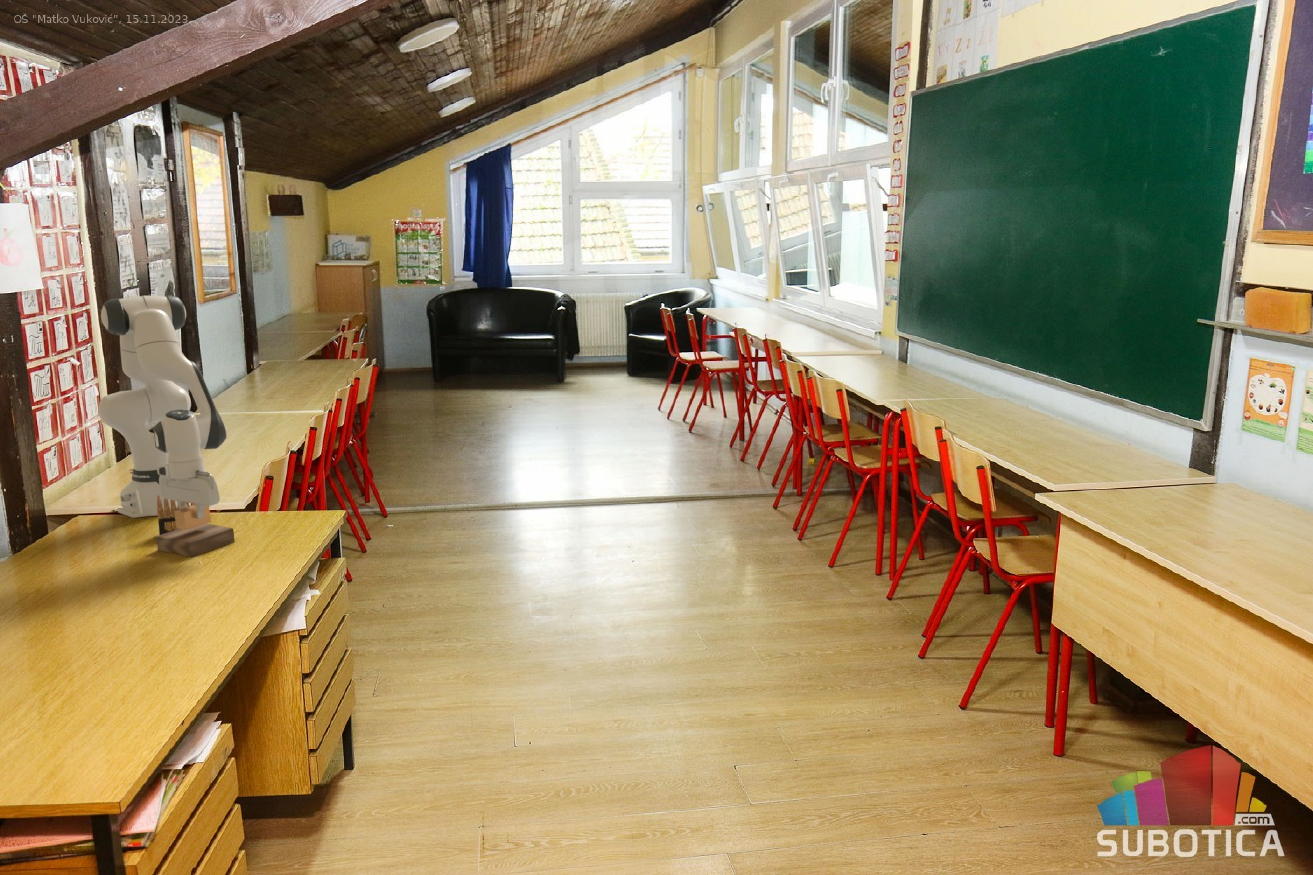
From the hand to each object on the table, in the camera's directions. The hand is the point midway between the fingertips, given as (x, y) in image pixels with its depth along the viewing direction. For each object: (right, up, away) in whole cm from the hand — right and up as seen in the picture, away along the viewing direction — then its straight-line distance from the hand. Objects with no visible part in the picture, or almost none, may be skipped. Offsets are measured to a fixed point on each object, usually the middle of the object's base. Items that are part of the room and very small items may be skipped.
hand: (193, 517), depth 269 cm
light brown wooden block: (0, -2, 0) cm, 2 cm away
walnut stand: (0, -8, +2) cm, 9 cm away
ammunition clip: (-10, -6, +14) cm, 18 cm away
